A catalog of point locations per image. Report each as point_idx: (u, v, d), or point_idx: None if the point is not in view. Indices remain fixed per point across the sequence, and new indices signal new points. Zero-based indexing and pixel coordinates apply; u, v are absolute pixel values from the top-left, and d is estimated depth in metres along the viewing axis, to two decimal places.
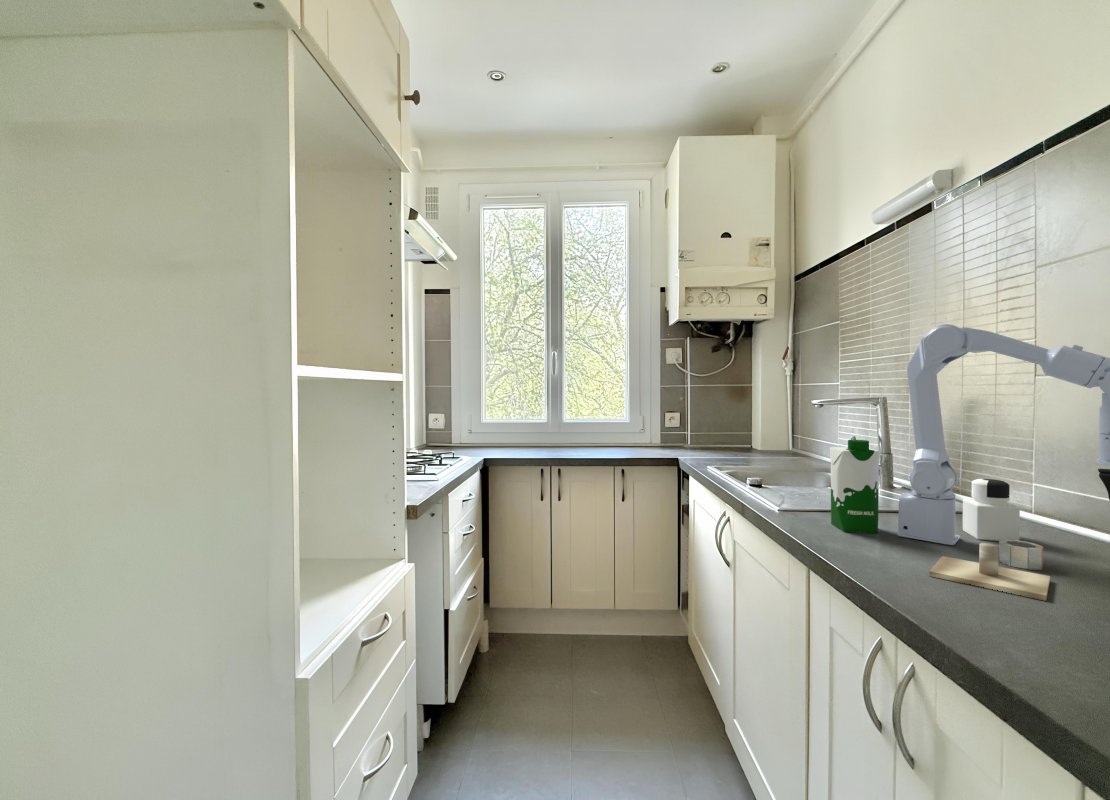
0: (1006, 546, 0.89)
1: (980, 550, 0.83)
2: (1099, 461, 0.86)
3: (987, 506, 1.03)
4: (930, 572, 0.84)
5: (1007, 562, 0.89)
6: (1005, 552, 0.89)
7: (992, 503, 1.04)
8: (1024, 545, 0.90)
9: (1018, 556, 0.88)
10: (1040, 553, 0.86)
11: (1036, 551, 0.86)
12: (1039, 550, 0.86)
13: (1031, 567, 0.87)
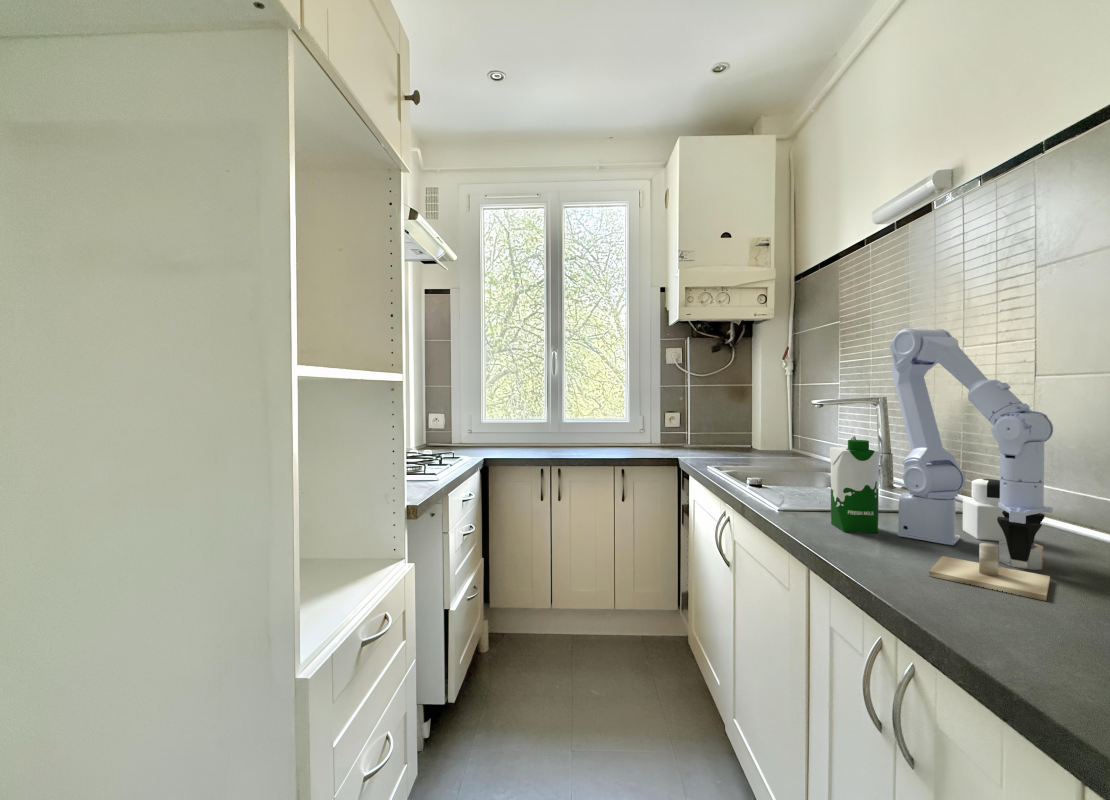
0: (1006, 546, 0.89)
1: (980, 550, 0.83)
2: (999, 505, 0.90)
3: (987, 506, 1.03)
4: (930, 572, 0.84)
5: (1007, 562, 0.89)
6: (1005, 552, 0.89)
7: (992, 503, 1.04)
8: None
9: None
10: (1040, 553, 0.86)
11: (1036, 551, 0.86)
12: (1039, 550, 0.86)
13: (1031, 567, 0.87)
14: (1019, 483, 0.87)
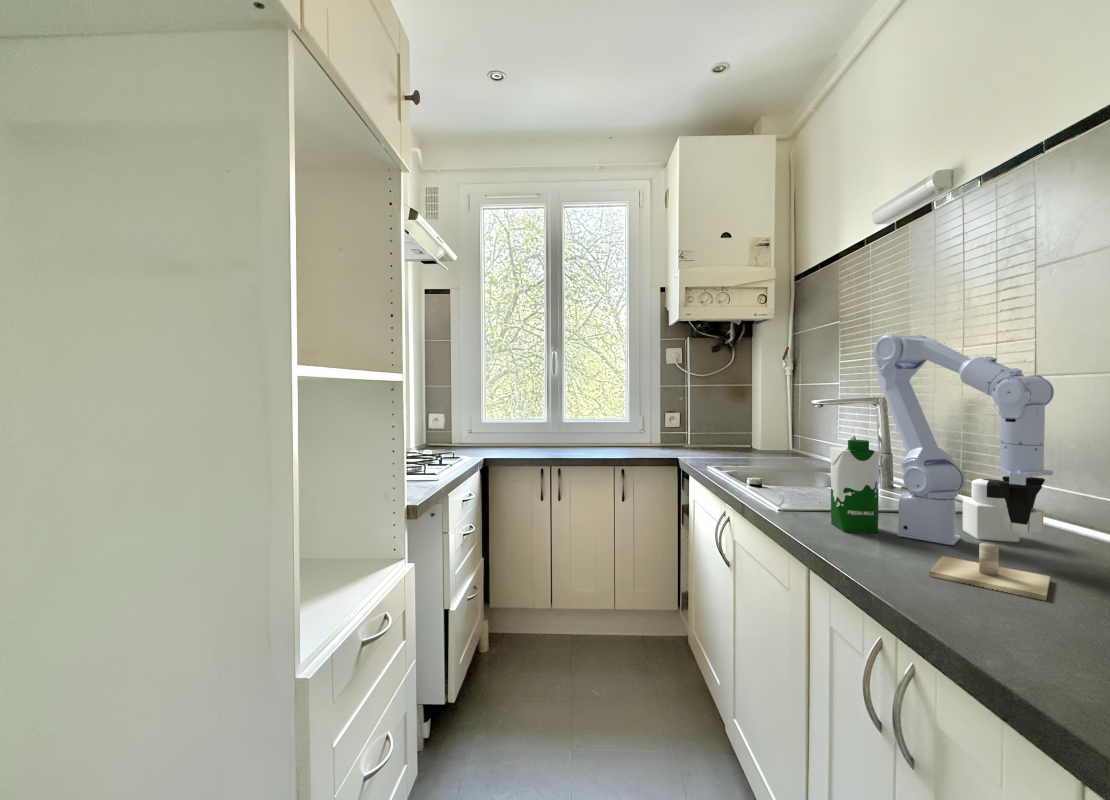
0: (1006, 510, 0.89)
1: (980, 550, 0.83)
2: (999, 469, 0.90)
3: (987, 506, 1.03)
4: (930, 572, 0.84)
5: (1007, 526, 0.89)
6: (1005, 516, 0.89)
7: (992, 503, 1.04)
8: None
9: None
10: (1040, 516, 0.86)
11: (1036, 514, 0.86)
12: (1039, 513, 0.86)
13: (1031, 530, 0.87)
14: (1019, 446, 0.87)
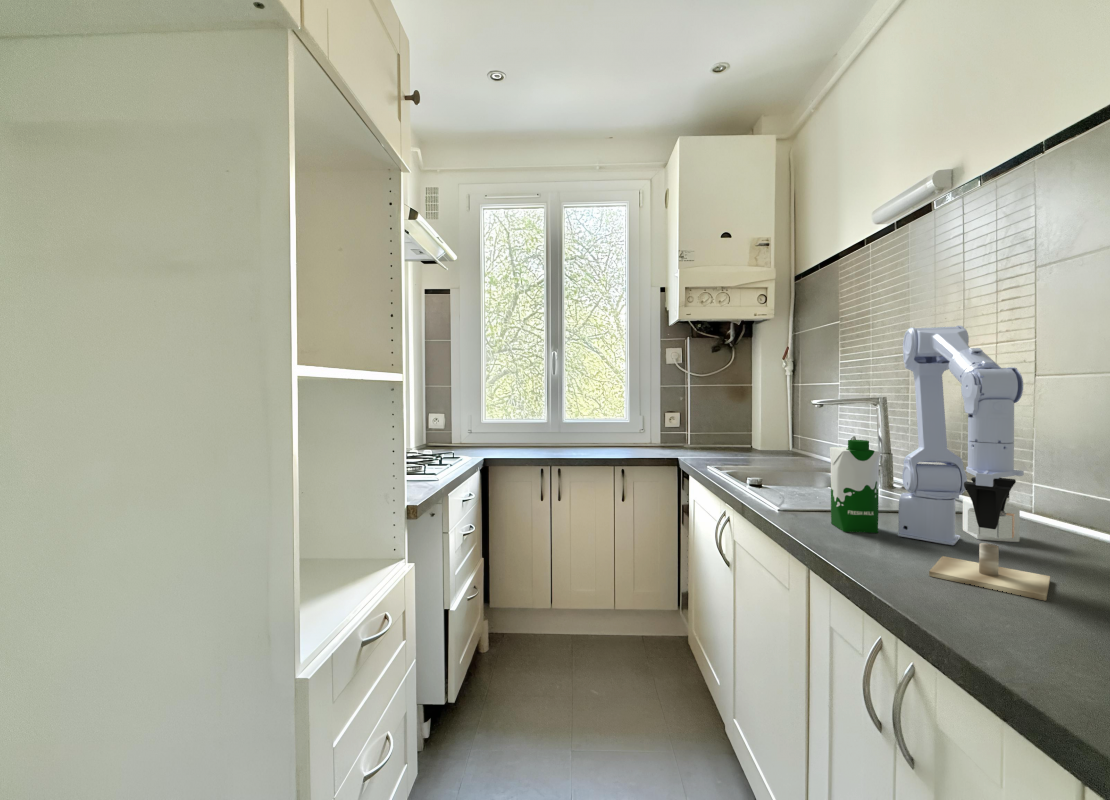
0: None
1: (980, 550, 0.83)
2: (967, 469, 0.83)
3: None
4: (930, 572, 0.84)
5: (976, 531, 0.82)
6: (974, 520, 0.82)
7: None
8: None
9: None
10: (1011, 520, 0.80)
11: (1006, 518, 0.80)
12: (1010, 517, 0.80)
13: (1001, 536, 0.80)
14: (987, 444, 0.80)
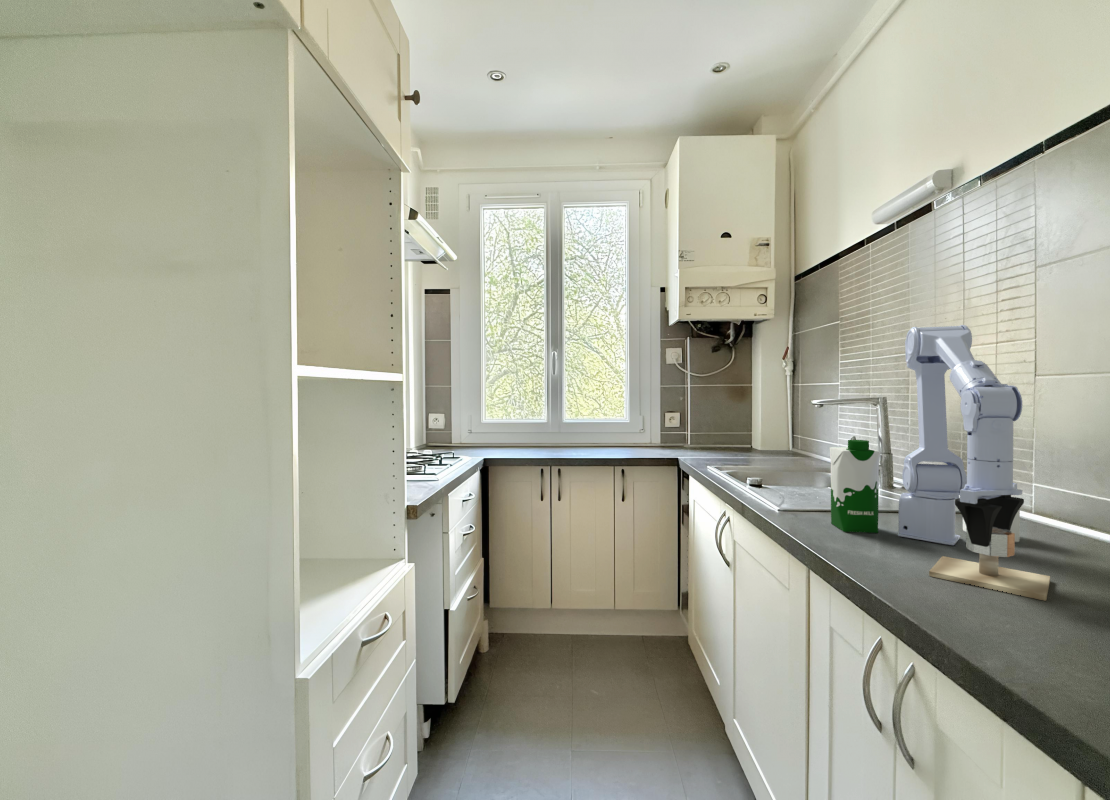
0: None
1: None
2: None
3: None
4: (930, 572, 0.84)
5: (971, 548, 0.83)
6: None
7: None
8: (997, 531, 0.83)
9: None
10: (1005, 539, 0.79)
11: (1000, 537, 0.80)
12: (1004, 536, 0.80)
13: (994, 554, 0.80)
14: (980, 462, 0.81)
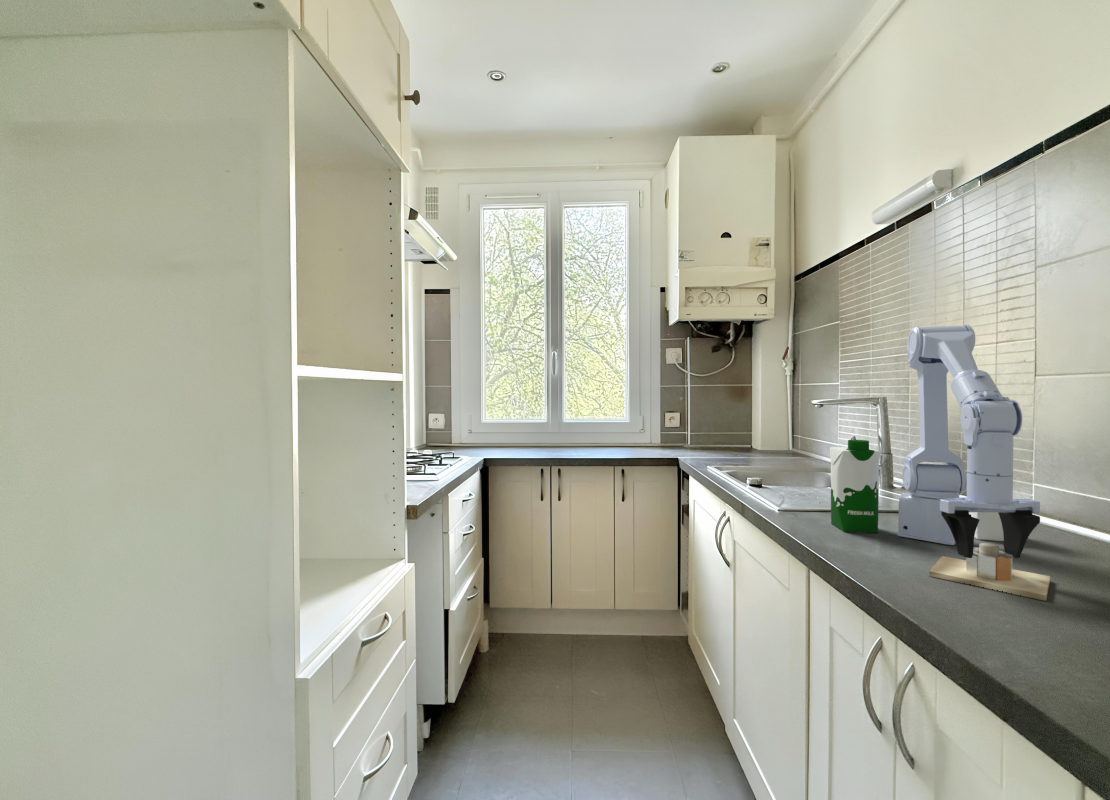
0: None
1: (980, 550, 0.83)
2: None
3: None
4: (930, 572, 0.84)
5: (966, 567, 0.84)
6: None
7: None
8: (1002, 556, 0.82)
9: (971, 561, 0.83)
10: (994, 562, 0.80)
11: (988, 559, 0.80)
12: (992, 559, 0.80)
13: (981, 575, 0.81)
14: (971, 475, 0.82)
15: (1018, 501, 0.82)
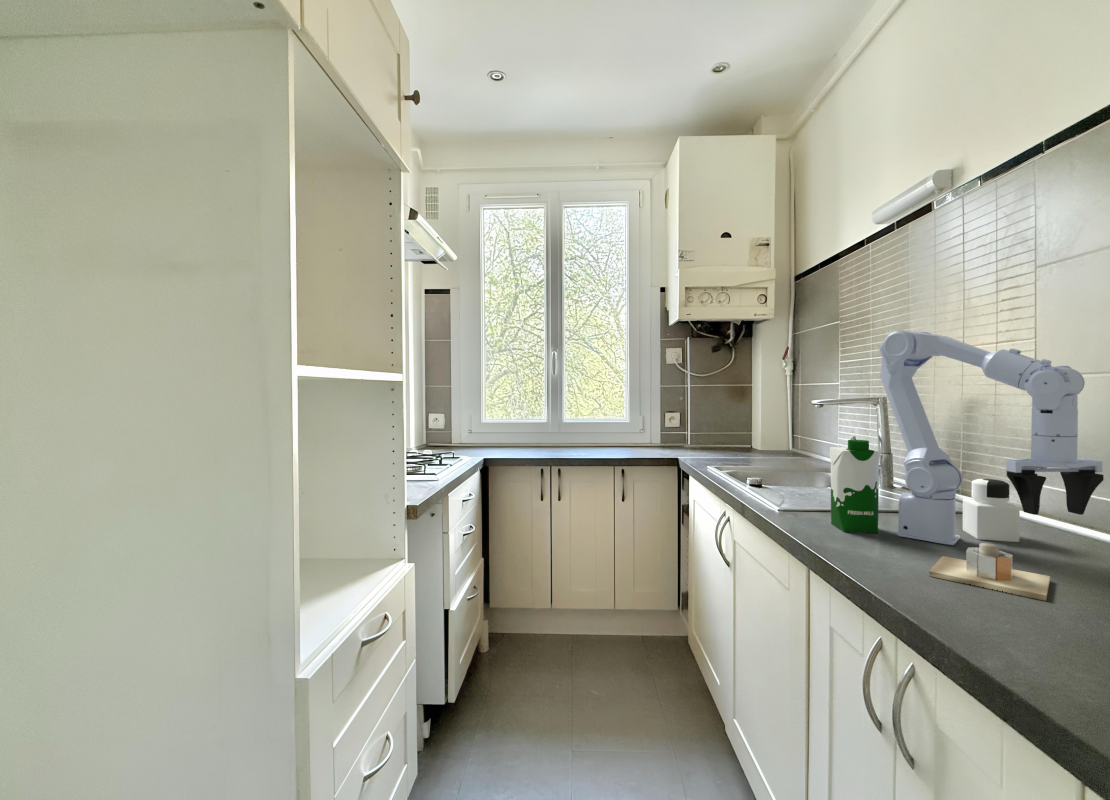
0: None
1: (980, 550, 0.83)
2: None
3: (987, 506, 1.03)
4: (930, 572, 0.84)
5: (966, 567, 0.84)
6: None
7: (992, 503, 1.04)
8: (1002, 556, 0.82)
9: (971, 561, 0.83)
10: (994, 562, 0.80)
11: (988, 559, 0.80)
12: (992, 559, 0.80)
13: (981, 575, 0.81)
14: (1036, 437, 0.88)
15: (1081, 461, 0.87)
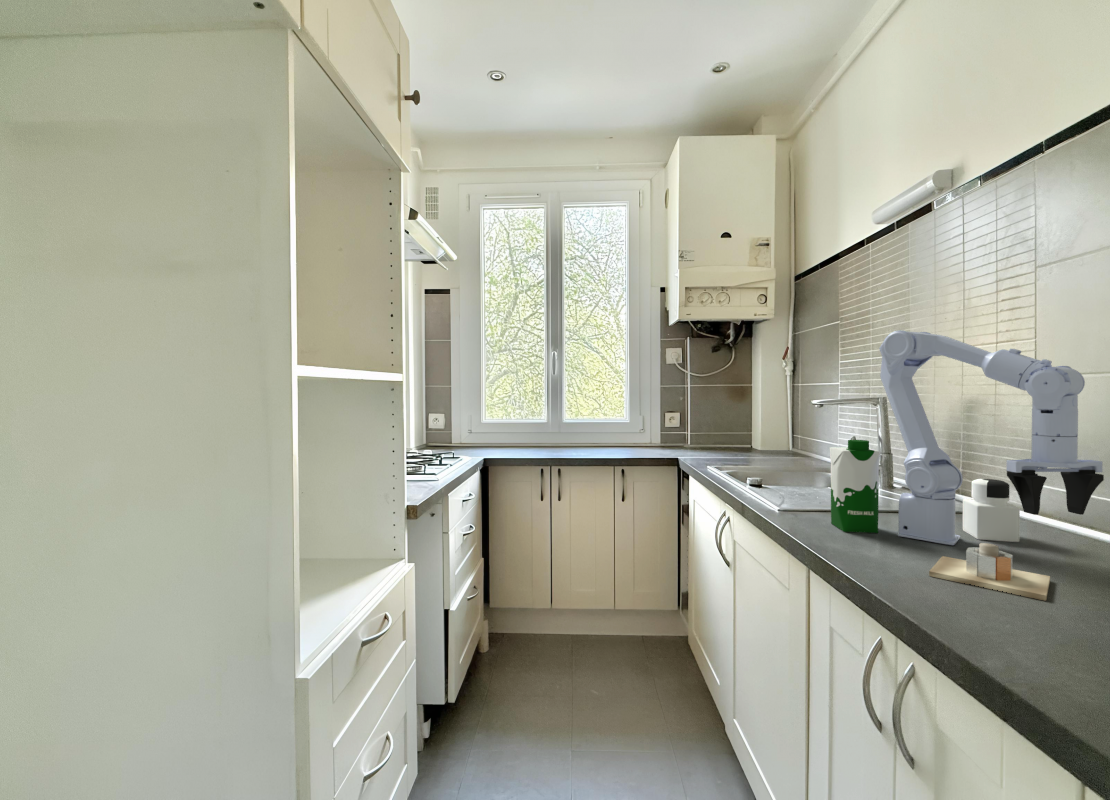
0: None
1: (980, 550, 0.83)
2: None
3: (987, 506, 1.03)
4: (930, 572, 0.84)
5: (966, 567, 0.84)
6: None
7: (992, 503, 1.04)
8: (1002, 556, 0.82)
9: (971, 561, 0.83)
10: (994, 562, 0.80)
11: (988, 559, 0.80)
12: (992, 559, 0.80)
13: (981, 575, 0.81)
14: (1037, 437, 0.88)
15: (1081, 461, 0.87)
